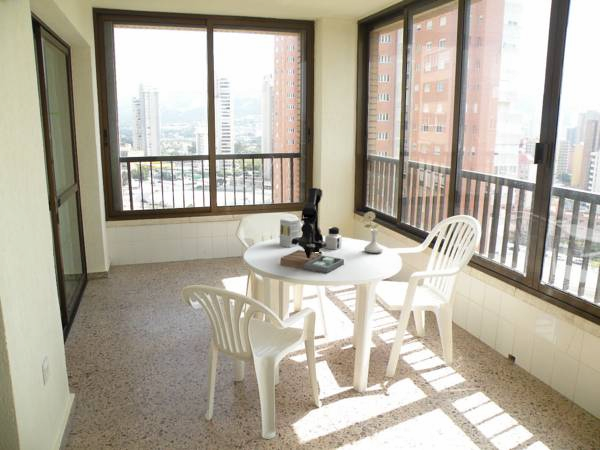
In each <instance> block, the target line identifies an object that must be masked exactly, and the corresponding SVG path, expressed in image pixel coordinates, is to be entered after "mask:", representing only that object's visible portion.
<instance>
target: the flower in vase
mask: <svg viewBox="0 0 600 450" xmlns="http://www.w3.org/2000/svg"><path fill="white" fill-rule="evenodd" d="M362 218H363V221H364V222H368V224H365V225H364V226H363V227H364V228H367V229H368V228H371V229H370V232H371V234H372V235H371V237H372V240H371V241H370V243H368V244H367V245H365V247H364V248H363V249H364V251H365V252H367V253H371V254H372V253H374V254H377V253H378V254H379V253H381V252H383V251H384V247H382V245H381V244H379V243H378V242H377V234H378V232H379V229H377V227H378V226H379V224H380V223H376V224H374V225H372V221H374V219H376V213H375V212H373V211H367V212H365V213H364V214H363V216H362ZM369 223H370V224H369Z"/></svg>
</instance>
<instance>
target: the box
mask: <svg viewBox="0 0 600 450" xmlns="http://www.w3.org/2000/svg"><path fill="white" fill-rule="evenodd" d="M325 257H329V258H334V263H333V264H331V265H328V264H326V265H325V267H322V266H317V265H313V263H315V262H322V259H323V258H325ZM344 264H345V259H344V258H339V257H334V256H333V257H332V256H326V255H322V256H319V257H317V258H315V259H313V260H311V261H309V262H307V263H305V264H304V269H303V270H306V271H311V272H312V271H313V272H316V273H317V272H318V273H323V274H329V273H332V272H334V271H335V270H337V269H338V268H340V267H342V266H344Z"/></svg>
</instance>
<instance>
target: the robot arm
mask: <svg viewBox="0 0 600 450" xmlns="http://www.w3.org/2000/svg"><path fill="white" fill-rule="evenodd" d="M306 196H307V203H306V204H304V205H303V208H302V209H301V218H300V222H303V224H302V226H301V227H300V231H301V232H302V233H301V234H302V235H301V236H300V238H298V237H296V238H294V239H292V241H291V244H294V245H296V244H297V243H298V246H299V247H301V248H302V249H303V251H305V253H306V256H307V258H308V259H309V258H310V256H311V254H312V252H314V253H315V252H319V251H320V250H322V249H325V247H326V242H325V240H324V236H323V234H322V230H321V228H320V227H319V204H320V202H321V200H322V197H323V189H321V188H318V187H310V188H307V190H306Z"/></svg>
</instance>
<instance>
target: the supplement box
mask: <svg viewBox="0 0 600 450" xmlns="http://www.w3.org/2000/svg"><path fill="white" fill-rule="evenodd" d="M279 221H280V222H279V245H280V246H283V247H286V248H294V247H295V248H296V247H298V246H299V245H298V243H297V244H296V245H294V244H291V241H292V239H294V238H296V237H298V238H300V237H301V218H294V217H284V218H280V220H279Z"/></svg>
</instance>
